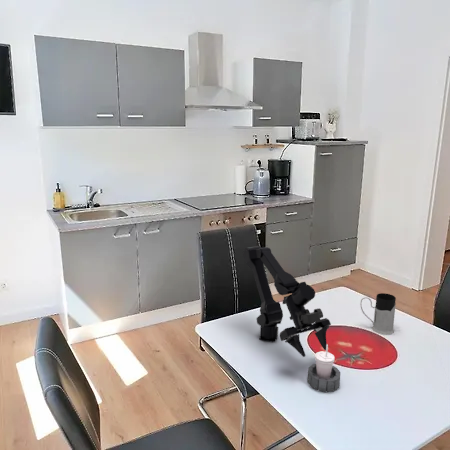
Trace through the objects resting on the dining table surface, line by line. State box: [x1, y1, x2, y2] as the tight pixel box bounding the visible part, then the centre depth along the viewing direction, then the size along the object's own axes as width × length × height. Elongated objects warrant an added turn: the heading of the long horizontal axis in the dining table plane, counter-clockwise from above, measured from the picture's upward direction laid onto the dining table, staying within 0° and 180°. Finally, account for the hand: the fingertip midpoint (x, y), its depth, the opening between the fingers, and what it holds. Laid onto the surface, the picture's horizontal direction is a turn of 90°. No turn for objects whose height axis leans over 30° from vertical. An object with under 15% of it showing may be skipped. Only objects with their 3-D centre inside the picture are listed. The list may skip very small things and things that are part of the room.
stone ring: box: [306, 363, 341, 393], centre depth 135 cm, size 10×10×4 cm
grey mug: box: [360, 293, 397, 336], centre depth 171 cm, size 9×14×15 cm, turn 73°
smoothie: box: [314, 343, 335, 379], centre depth 134 cm, size 6×6×14 cm
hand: (315, 353), depth 138 cm, fingers open, 9 cm apart
